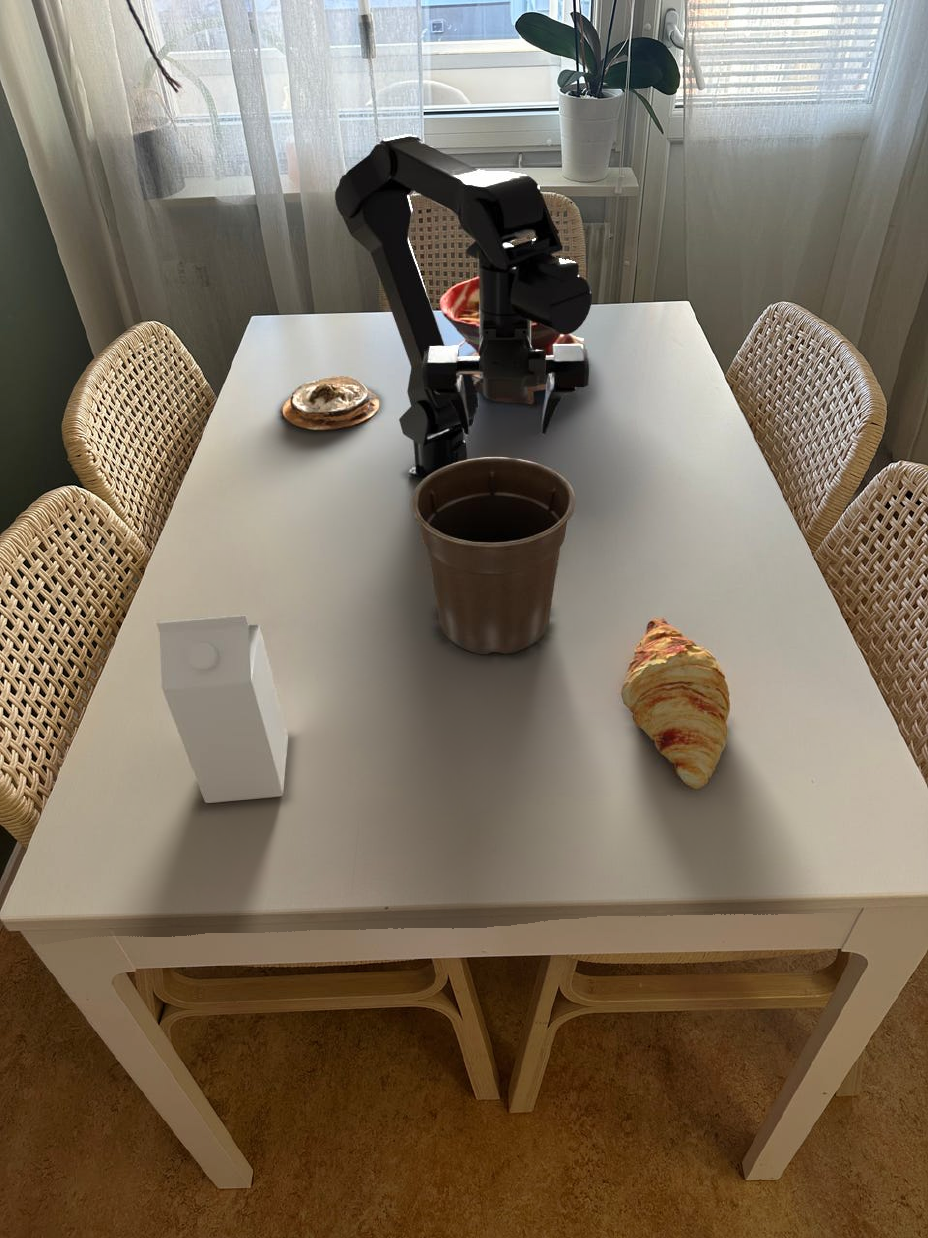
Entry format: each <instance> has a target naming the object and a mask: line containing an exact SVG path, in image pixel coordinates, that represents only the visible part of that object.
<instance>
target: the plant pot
mask: <svg viewBox="0 0 928 1238" xmlns="http://www.w3.org/2000/svg"><path fill="white" fill-rule="evenodd" d="M412 494H413V495H412V499H411V509H412V513H413V515H414V518H415V520H416V521H417V523H418V525H419V529H420V534H421V539H422V543H423V544H424V547H425V548H426V549H427V554H428V560H429V566H430V571H431V577H432V582H433V588H434V594H435V599H436V607H437V611H438V619H439V624H440V628H441V630H442V632H443V634H444V635H445V636H446V637H447V639H448V640H450V641H451V642H452V643H453V644H455V645H456V646H458V647H460V648H462V649H464V650H466V651H468V652H471V653H475V654H480V655H486V656H487V655H489V654H491V653H501V654H503V655H509V654H513V653H514V654H515V653H516V652H520V651H522V650H523V651H524V650H525V649H527V648H529V647H531V646H533V645H534V644H535V643H536V642H537V641H539V640H540V639H541V638H542V637H543V635H544V634H545V633H546V631H547V629H548V628H549V625H550V617H551V610H552V603H553V602H552V601H553V595H554V589H555V582H556V578H557V577H556V576H557V570H558V566H559V565H558V564H559V560H560V553H561V547H562V545H563V544H564V542H565V539H566V534H567V527H568V521H570V519H571V517H572V515H573V513H574V510H575V505H576V496H575V495H576V494H575V491H574V490H573V487H572V486H571V484H570V482H569V481H568V480H567V479H565V477H563V476H562V475H561V474H560V473H558V472H557V471H555V470H553V469H551V468H549V467H547V466H545V465H543V464H541V463H537V462H535V461H534V462H533V461H530V460H526V459H525V460H524V459H521V458H516V457H515V458H514V457H505V456H504V457H503V456H487V457H476V458H470V459H467V460H465V461H461V462H457V463H453V464H451V465H448V466H445V467H443V468H441V469H439V470H437V471H435V472H433V473H432V474H430V475H429V476H427V477H426V478H425V479H422V480H421V482H420V483H418V485H417V486H416V488H415V489H414V491H413V493H412Z"/></svg>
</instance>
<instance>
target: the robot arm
mask: <svg viewBox="0 0 928 1238" xmlns="http://www.w3.org/2000/svg"><path fill="white" fill-rule="evenodd" d="M413 193H417V194H419V195H421V196H422V197H424V198H426V199H428V200H429V201H432V202H433V203H435V204H437V205H439V206H441V207H442V208H445V209H446V210H448V211H450V212H452V213H453V214H454V215H456V216H457V218H458V222H459V225H460V229H461V230H462V231H463V233H465V234H466V235H467V236H469V238H471V239H472V240H473V243H471V244H470V245H469V246H468V247H467V248H466V249H465V255H467V257H470V258H473V259H475V260H477V261H478V277H479V316H480V346H479V357H470V356H460V351H459V347H458V345H445V342H444V339H443V336H442V334H441V331H440V328H439V324H438V322H437V319H436V316H435V314H434V311H433V307H432V304H431V301H430V298H429V296H428V293H427V290H426V287H425V284H424V281H423V278H422V275H421V272H420V269H419V267H418V264H417V260H416V258H415V255H414V252H413V248H412V246H411V243H410V240H409V234H410V228H411V223H412V217H413V208H412V204H411V200H410V197H411V196H412V195H413ZM334 200H335V201H334V202H335V206H336V208H337V211H338V213H339V214H340V216H341V217H342V219H343V222H344V223H345V225H346V228H347V230H348V232H349V234H350V236H351V237H352V238H353V239H354V240H356V242H357V243H359V245H361V246H362V247H363V248H364V249H365V250H366V251H368V252H369V253H370V255H371V257H372V258H371V259H372V261H373V263H374V266H375V269H376V271H377V272H376V273H377V274H378V277H379V281H380V283H381V285H382V289H383V292H384V295H385V297H386V300H387V303H388V306H389V309H390V312H391V314H392V316H393V321H394V323H395V325H396V327H397V330H398V333H399V337H400V339H401V343H402V344H403V347H404V351H405V354H406V356H407V359H408V362H409V365H410V373H409V378H408V384H407V389H406V390H407V396H408V400H409V403H410V407H409V408H408V409H407V410H406V411H405V412H404V413H403V414H402V415H401V416H400V417H399V419H398V421H399V425H400V428H401V431H402V434H403V435H404V436H405V437H407V438H409V439H410V440H412V443H413V453H414V466H413V467H411V468H410V469H409V470H408V473H409V475H410V476H413V477H417V478H419V479H422V480H424V479H425V478H426V477H427V476H429V475H430V474H432V473H433V472H435V471H437V470H439V469H441V468H443V467H445V466H448V465H451V464H453V463H457V462H461V461H465V460H468V447H467V441H465V438H464V437H465V436H468V435H469V434H470V427H472V426H473V425H474V422H475V417H476V413H477V410H478V408H479V396H478V393H479V389H478V388H476V387H475V385H474V382H473V380H472V377H471V375H480V376H482V378H483V381H482V383H483V393H482V394H483V397H485V398H486V399H488V400H489V399H497V398H514V399H522V398H524V397H525V396H526V395H527V391H528V387H537V384H544V383H545V376H546V374H548V378H547V385H546V389H545V393H544V400H543V407H542V414H541V434H542V435H545V434H546V433H547V431H548V428H549V426H550V425H551V421H552V419H553V416H554V414H555V412H556V409H557V408H558V406H559V403H561V401H562V400H563V398H564V397H565V396H566V395H568V394H574V393H576V391H577V389H579V388H581V389H582V388H583V389H584V388H586V387H587V386H589V379H590V361H589V355H588V349H587V348H586V346H585V347H584V346H583V345H582V344H569V345H553V347H552V356H546V351H545V350H534V348H532V346H531V321H532V322H534V323H536V324H539V325H541V326H543V327H545V328H548V329H550V330H552V331H554V332H557V333H559V334H561V335H567V334H571V335H572V333H574V332H576V331H577V330H578V329H579V328H580V327H581V326H582V325H583V323H585V321H586V320H587V317H588V315H589V313H590V310H591V307H592V301H593V293H592V292H591V288H590V285H589V283H588V281H587V280H586V279H585V278H584V277H582V276H580V275H579V270H580V265H579V263H577V262H575V261H572V260H569V259H566V260H565V259H562V258H559V257H557V256H554V255H555V254H558V253H562V251H563V249H564V248H563V247H564V246H563V245H562V242H561V239H560V236H559V234H560V232H559V230H558V228H557V227H556V225H555V223H554V221H553V219H552V216H551V214H550V211H549V208H548V206H547V203H546V201H545V198H544V195H543V194H542V192H541V190H540V185H539V184H538V183H537V181H536V180H535V179H534V178H533V177H531V176H529V175H526V174H521V173H515V172H510V171H485V170H480V169H477V168H475V167H474V166H472V165H470V164H467V163H466V162H463V161H461V160H459V159H457V158H455V157H453V156H451V155H449V154H447V153H445V152H443V151H441V150H439V149H436V148H434V147H433V146H430V145H429V144H426V143H424V142H423V141H422V139H421V138H420V137H418V136H417V135H412V134H404V135H399V136H394V137H390V138H386V139H385V138H384V139H382V140H381V141H379V143H377V144H375V145H374V147H373V148H372V150H371V151H370V153H369V154H368V155H367V156H365V157H364V158H363V159H362V160H360V161H359V162H358V163H356V164H355V165H354V166H353V167H351V168H349V170H348V171H346V173H345V174H343V175H342V176H341V178H340V179H339V182H338V185H337V187H336V189H335V192H334ZM533 235H535V237H536V238H534V239H529V240H527V241H524V242H520V243H518V244H515V245H514V244H513V245H512V244H507V243H508V242H511V243H512V242H513V241H518V240H521V239H523V238H528V237H530V236H533ZM464 434H465V435H464Z"/></svg>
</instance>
